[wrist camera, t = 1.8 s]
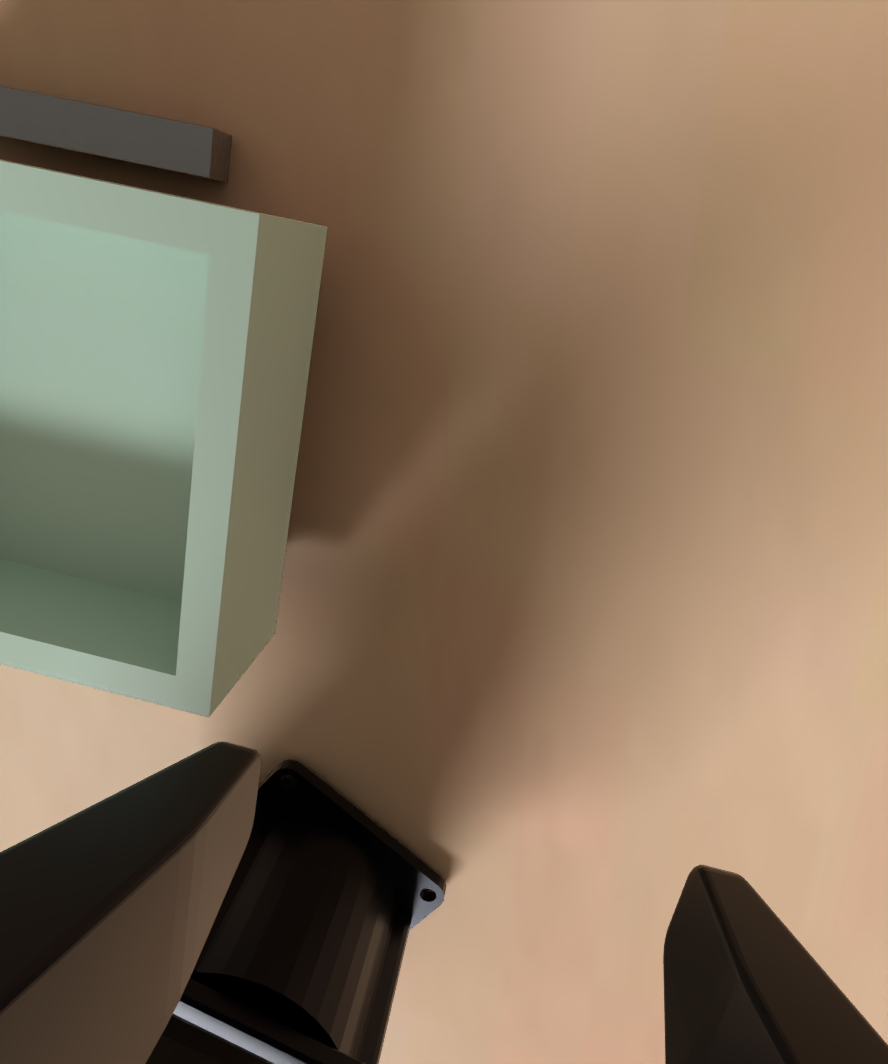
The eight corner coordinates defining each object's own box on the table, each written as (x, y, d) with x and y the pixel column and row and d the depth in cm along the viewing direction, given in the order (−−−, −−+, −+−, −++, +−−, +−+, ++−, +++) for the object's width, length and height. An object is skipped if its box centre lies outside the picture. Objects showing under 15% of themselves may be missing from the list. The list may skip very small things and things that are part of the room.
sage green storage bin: (344, 229, 18) (260, 214, 13) (292, 610, 21) (208, 717, 16) (-55, 147, 19) (-285, 102, 14) (-43, 529, 22) (-223, 607, 17)
